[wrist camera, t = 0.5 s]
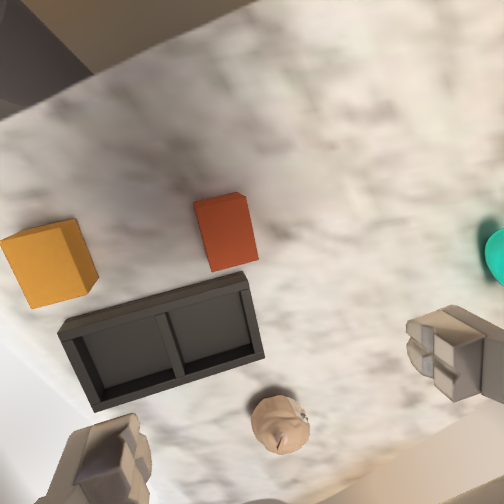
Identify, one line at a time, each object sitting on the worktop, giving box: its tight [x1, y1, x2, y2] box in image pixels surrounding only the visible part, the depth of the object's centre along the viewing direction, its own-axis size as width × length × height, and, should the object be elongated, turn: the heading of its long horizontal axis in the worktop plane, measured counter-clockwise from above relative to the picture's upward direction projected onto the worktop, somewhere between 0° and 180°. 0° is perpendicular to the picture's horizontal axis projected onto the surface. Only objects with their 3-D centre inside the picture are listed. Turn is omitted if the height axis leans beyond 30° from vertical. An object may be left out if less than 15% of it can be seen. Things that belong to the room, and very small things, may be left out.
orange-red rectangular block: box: [193, 192, 259, 272], centre depth 29 cm, size 6×4×4 cm
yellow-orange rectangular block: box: [0, 219, 98, 309], centre depth 27 cm, size 6×4×4 cm
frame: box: [57, 271, 265, 413], centre depth 32 cm, size 10×18×3 cm, turn 102°
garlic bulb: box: [251, 395, 310, 455], centre depth 35 cm, size 7×6×8 cm
